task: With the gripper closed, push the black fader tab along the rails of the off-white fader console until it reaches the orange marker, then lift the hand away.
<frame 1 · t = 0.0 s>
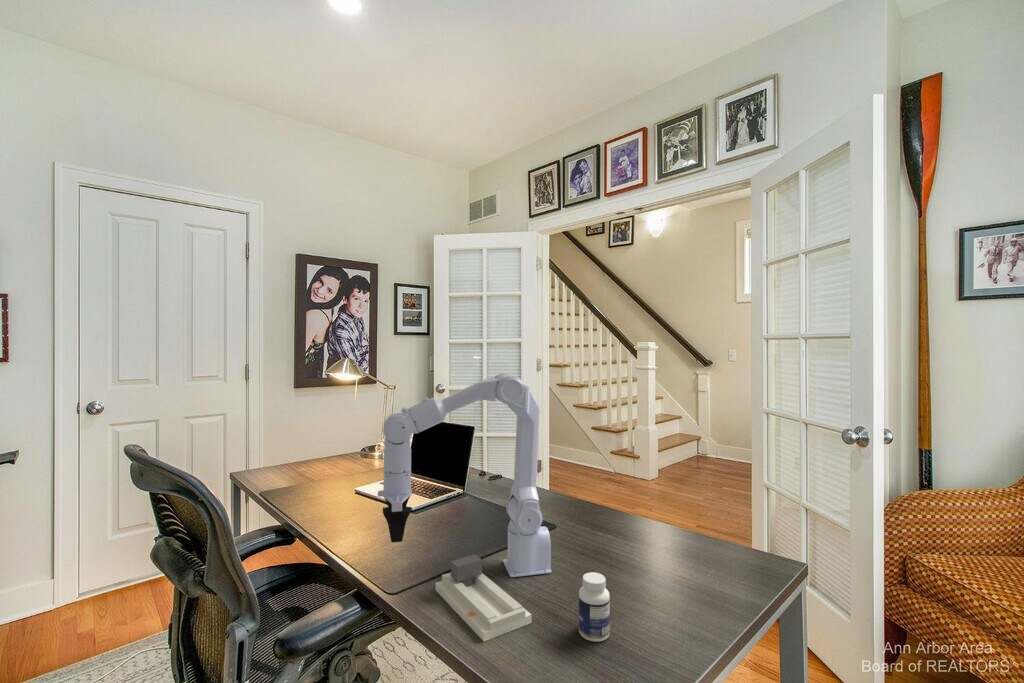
hand: (397, 534, 100), 10 cm above the table, tool pointing down, fingers open, 7 cm apart
pill bottle: (593, 634, 82), on the table
fader tab: (466, 571, 96), point 4 cm above the table, slide at 0.0 cm
fader console: (480, 605, 91), on the table
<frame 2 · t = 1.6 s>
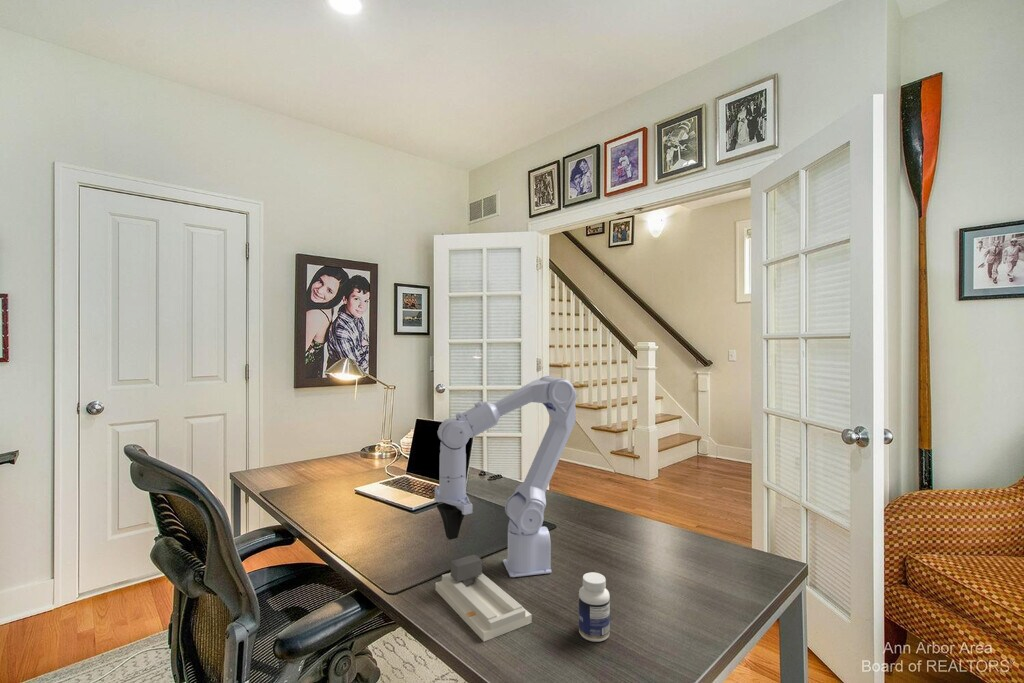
hand: (452, 537, 101), 9 cm above the table, tool pointing down, fingers closed
nothing on the table moved.
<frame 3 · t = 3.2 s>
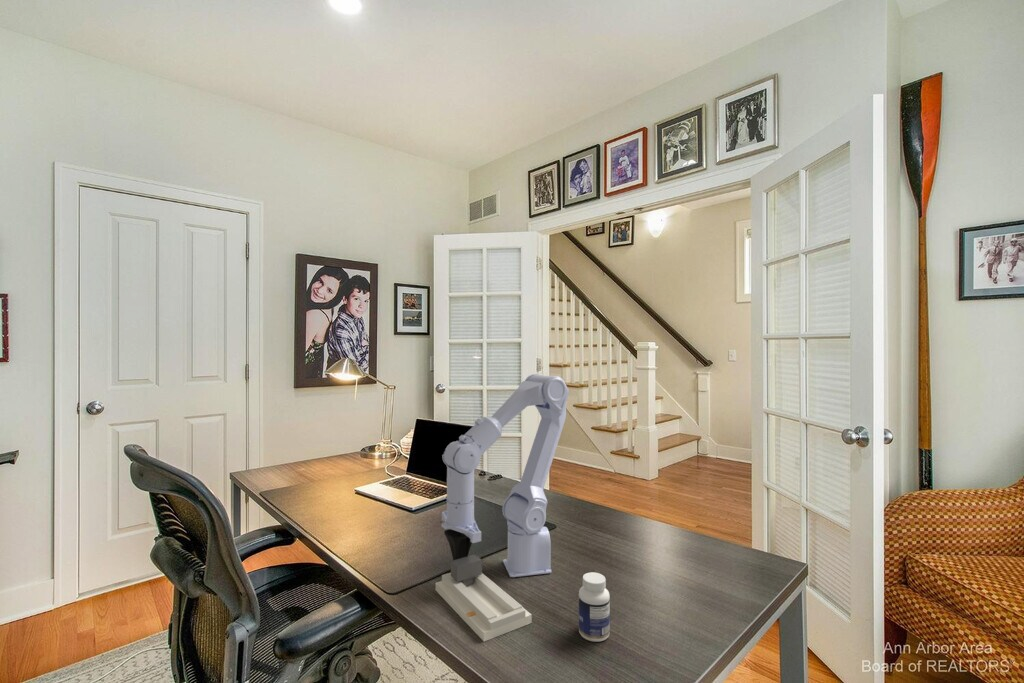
hand: (460, 564, 98), 4 cm above the table, tool pointing down, fingers closed
fader tab: (466, 571, 96), point 4 cm above the table, slide at 0.0 cm, touching gripper
everything else where it was.
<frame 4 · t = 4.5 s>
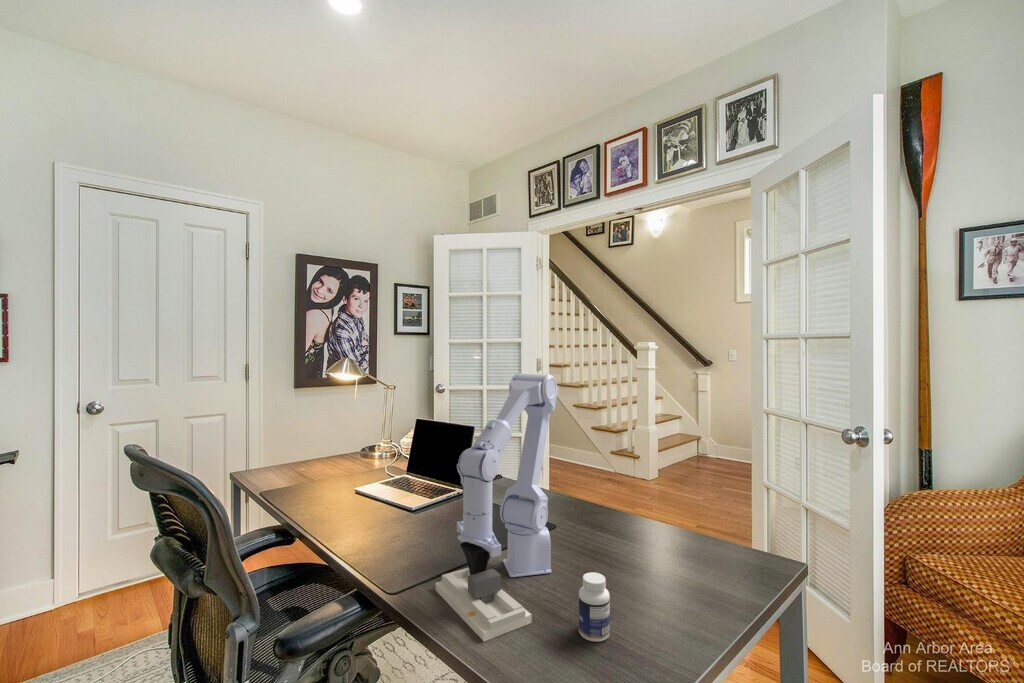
hand: (477, 579, 92), 4 cm above the table, tool pointing down, fingers closed
fader tab: (484, 587, 90), point 4 cm above the table, slide at 7.4 cm, touching gripper
everything else where it was.
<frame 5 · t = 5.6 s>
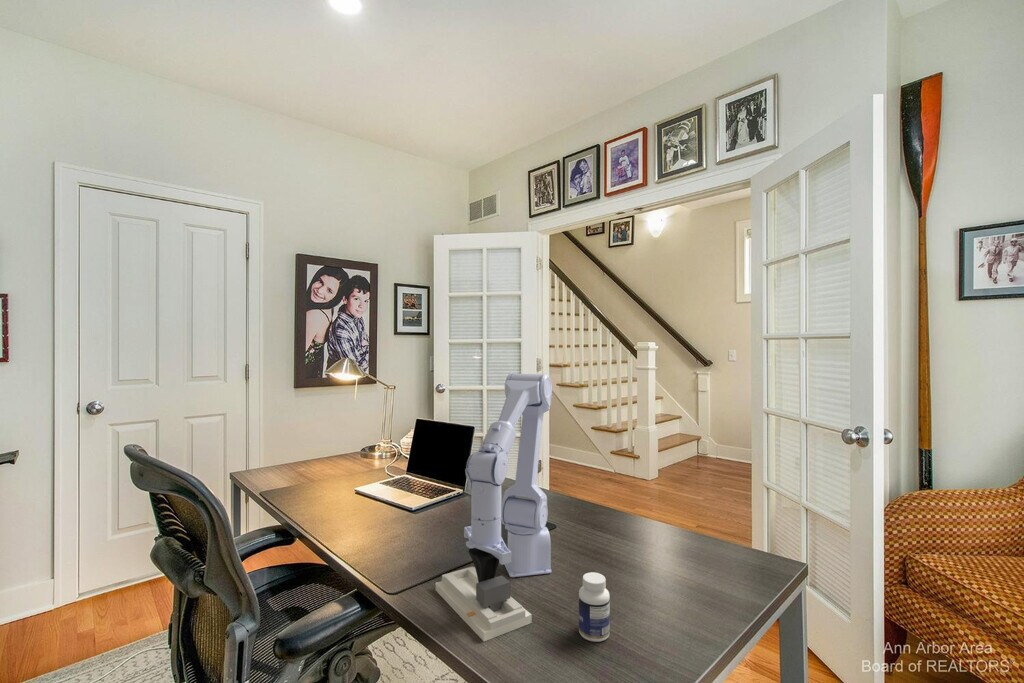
hand: (485, 587, 89), 4 cm above the table, tool pointing down, fingers closed
fader tab: (493, 595, 87), point 4 cm above the table, slide at 10.7 cm, touching gripper
everything else where it was.
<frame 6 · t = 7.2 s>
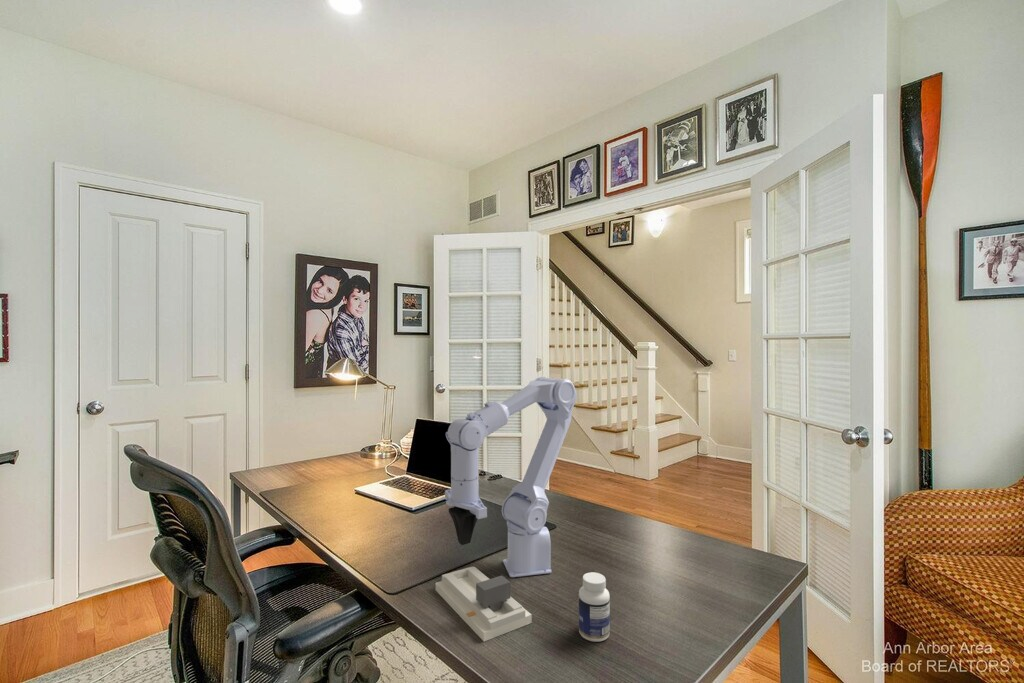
hand: (464, 542, 97), 9 cm above the table, tool pointing down, fingers closed
fader tab: (493, 595, 87), point 4 cm above the table, slide at 10.7 cm
everything else where it was.
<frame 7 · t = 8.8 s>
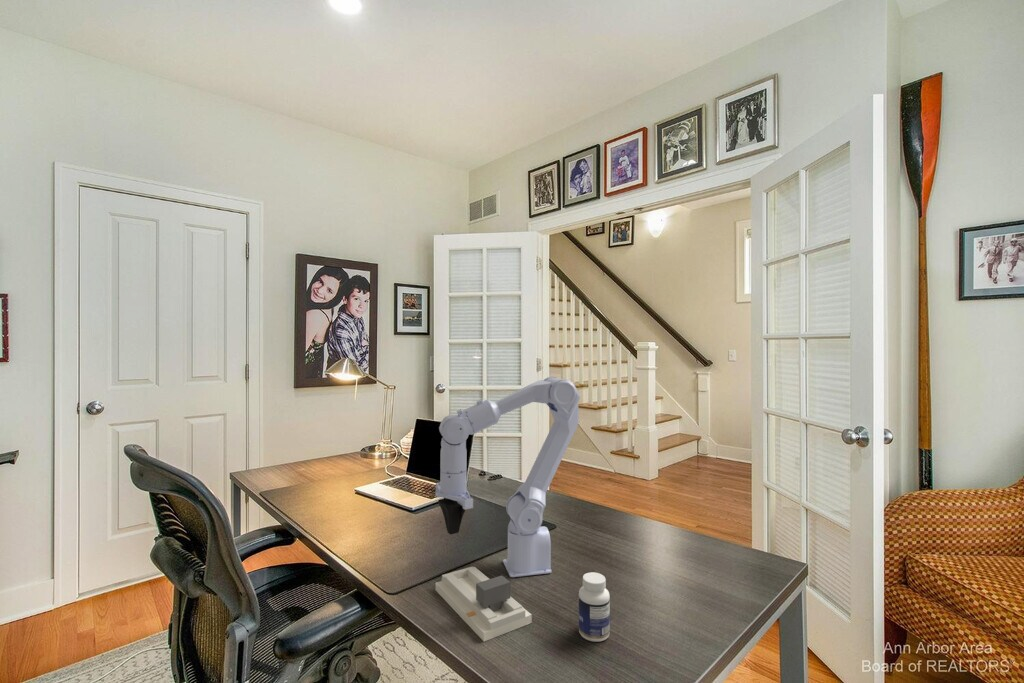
hand: (453, 532, 103), 9 cm above the table, tool pointing down, fingers closed
nothing on the table moved.
at the end: fader tab slide at 10.7 cm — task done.
